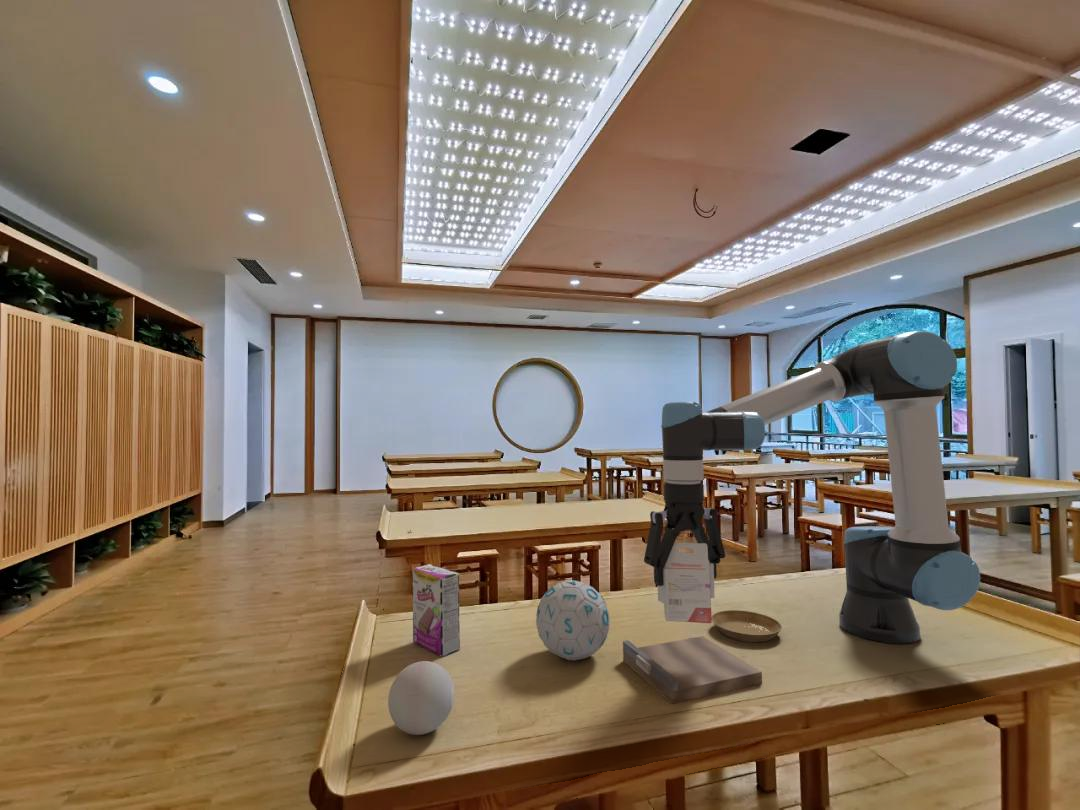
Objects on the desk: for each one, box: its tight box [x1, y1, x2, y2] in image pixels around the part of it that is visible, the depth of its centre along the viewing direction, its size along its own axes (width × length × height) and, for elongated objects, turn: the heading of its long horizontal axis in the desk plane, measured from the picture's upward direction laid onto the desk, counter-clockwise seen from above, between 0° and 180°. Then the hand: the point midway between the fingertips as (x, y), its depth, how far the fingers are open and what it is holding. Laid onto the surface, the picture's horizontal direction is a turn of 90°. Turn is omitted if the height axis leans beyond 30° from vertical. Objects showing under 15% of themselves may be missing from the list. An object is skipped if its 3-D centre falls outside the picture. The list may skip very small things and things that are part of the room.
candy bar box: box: [411, 563, 461, 657], centre depth 110 cm, size 11×5×16 cm, turn 47°
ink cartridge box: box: [663, 542, 713, 624], centre depth 97 cm, size 9×5×15 cm, turn 78°
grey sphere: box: [387, 660, 455, 736], centre depth 79 cm, size 10×10×10 cm
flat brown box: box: [622, 635, 763, 704], centre depth 96 cm, size 20×17×4 cm
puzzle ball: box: [535, 579, 610, 661], centre depth 104 cm, size 15×15×15 cm
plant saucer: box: [711, 609, 783, 643], centre depth 114 cm, size 15×15×3 cm
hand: (686, 599), depth 97 cm, fingers closed on ink cartridge box, 9 cm apart
